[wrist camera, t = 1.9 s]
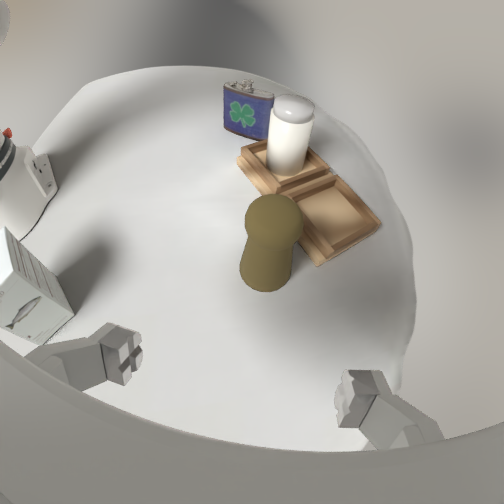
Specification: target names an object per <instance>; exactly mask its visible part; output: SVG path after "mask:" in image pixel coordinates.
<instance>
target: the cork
mask: <svg viewBox="0 0 504 504" xmlns="http://www.w3.org/2000/svg"><path fill="white" fill-rule="evenodd" d="M303 226H304V220H303V214H302V212H301V210H300V208H299V206H298V205H297V204H296V203H295V202H294V201H293V200H292V199H290V198H288V197H287V196H284V195H280V194H267V195H263V196H261V197H259V198H257V199H256V200H254V201H253V202H252V203H251V204H250V206H249V208H248V210H247V212H246V214H245V229H246V231H247V234H248V239H247V242H246V245H245V249H244V252H243V255H242V259H241V262H240V274H241V277H242V279H243V280H244V282H245V283H246V284H247V285H248V286H250V287H251V288H252V289H254V290H257V291H260V292H272V291H275V290H278V289H280V288H281V287H282V286H284V285H285V284H286V282H287V281H288V280H289V277H290V273H291V264H292V253H293V244H294V243H295V242H296V241H297V240H298V239H299V237H300V236H301V233H302V230H303Z"/></svg>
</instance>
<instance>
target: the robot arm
mask: <svg viewBox="0 0 504 504" xmlns="http://www.w3.org/2000/svg"><path fill="white" fill-rule="evenodd" d="M9 24H10V11H9V8H8V6H7V4H6V3H5V1H4V0H0V46H1V45H2V43H3V41H4V39H5V37H6V35H7V32H8V29H9ZM11 137H12V132H11V130H10V128H7V129H6V130H5V131H4V132H2V131H1V130H0V229H1V228H2V227H4V226H6V227H7V229H8V230H9V231H10V232H11V233H12V234H13V236H14V237H15V238H16V239H17V240H18V241H19V240H21V239H22V238H23V237H24V236H25V235H26V234H27V233H28V232H29V231H30V230H31V229H32V228H33V226H34V225H35V224H36V222H37V221H38V219H39V218H40V216H41V214H42V212H43V210H44V208H45V206H46V205H47V203H48V202H49V201H50V199H51V198H52V197H53V196H54V195H55V193H56V192H57V189H58V187H57V184H56V181H55V178H54V175H53V172H52V168H51V165H50V161H49V158H48V156H47V155H46V154H41V155H38V156H35V154H34V153H33V151H32V149H31V148H30V147H29V146H20V147H16V146H15V145H14V144H13V142H12V141H11V139H9V138H11ZM141 342H142V340H141V334H140V333H139V332H137V331H134V330H131V329H128V328H125V327H122V326H119V325H116V324H113V323H106V324H105V325H104V326H102V327H101V328H100V329H98V330H97V331H96V332H95V333H93V334H92V335H91V336H90V337H88V338H85V337H84V338H79V339H74V340H69V341H64V342H58V343H53V344H47V345H42V346H38V347H37V348H36V349H34V350H33V351H31V352H30V353H29V354H27V355H26V356H25V357H22V356H21V355H20V354H18V353H17V352H15V351H14V350H13V349H11V348H10V347H9V346H7V345H6V344H5V343H3V342H2V341H1V340H0V504H504V422H502V423H499V424H496V425H494V426H491V427H488V428H485V429H482V430H479V431H476V432H472V433H469V434H465V435H462V436H458V437H454V438H450V439H446V440H445V438H444V436H443V434H442V432H441V430H440V428H439V426H438V424H437V422H436V421H434V420H433V419H431V418H430V417H428V416H427V415H425V414H424V413H422V412H421V411H419V410H418V409H416V408H415V407H413V406H412V405H410V404H409V403H407V402H406V401H404V400H403V399H401V398H400V397H399V396H397V395H392V392H391V390H390V388H389V386H388V384H387V381H386V379H385V377H384V375H383V373H382V371H380V370H347V369H345V370H344V372H343V374H342V377H341V379H342V383H341V384H340V385H338V387H337V389H336V392H335V398H334V405H335V408H336V409H337V410H338V413H337V415H336V416H337V422H338V428H359V430H360V431H361V432H362V433H363V434H364V436H365V437H366V438H367V439H368V440H369V441H370V442H371V443H372V444H373V445H374V446H375V448H376V449H377V450H372V451H353V452H314V451H296V450H284V449H274V448H266V447H258V446H252V445H245V444H239V443H234V442H228V441H223V440H218V439H214V438H209V437H205V436H201V435H197V434H193V433H189V432H185V431H182V430H178V429H175V428H172V427H168V426H165V425H162V424H159V423H156V422H153V421H150V420H147V419H144V418H141V417H139V416H136V415H133V414H131V413H128V412H126V411H123V410H121V409H118V408H116V407H114V406H111V405H109V404H107V403H104V402H102V401H100V400H98V399H96V398H94V397H91V396H89V395H87V394H85V393H83V392H82V391H84V390H86V389H89V388H91V387H93V386H96V385H98V384H100V383H103V382H105V381H107V380H109V381H112V382H115V383H117V384H120V385H123V386H125V385H126V384H127V382H128V381H129V380H130V379H131V377H132V373H131V372H134V371H137V370H138V368H139V367H140V365H141V362H142V357H143V352H142V349H141V348H140V346H139V344H140V343H141Z"/></svg>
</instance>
